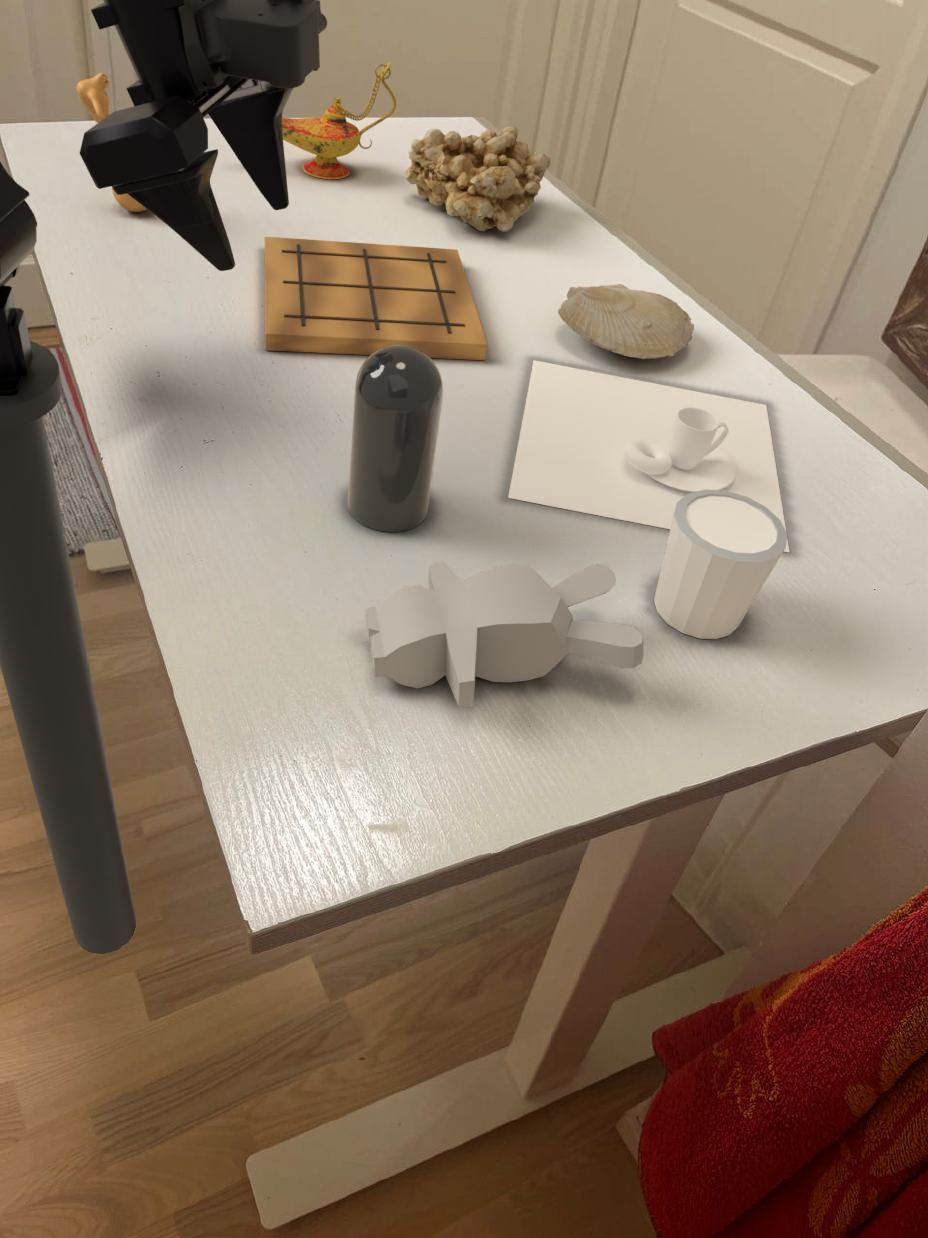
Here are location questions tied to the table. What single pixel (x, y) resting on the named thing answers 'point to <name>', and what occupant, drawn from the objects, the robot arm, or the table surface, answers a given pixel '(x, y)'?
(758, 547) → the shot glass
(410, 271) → the board
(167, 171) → the robot arm
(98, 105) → the figurine
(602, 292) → the seashell
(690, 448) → the teacup and saucer
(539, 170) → the mineral formation
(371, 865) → the table surface
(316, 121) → the magic lamp
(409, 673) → the bunny figurine
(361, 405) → the dark domed cylinder
